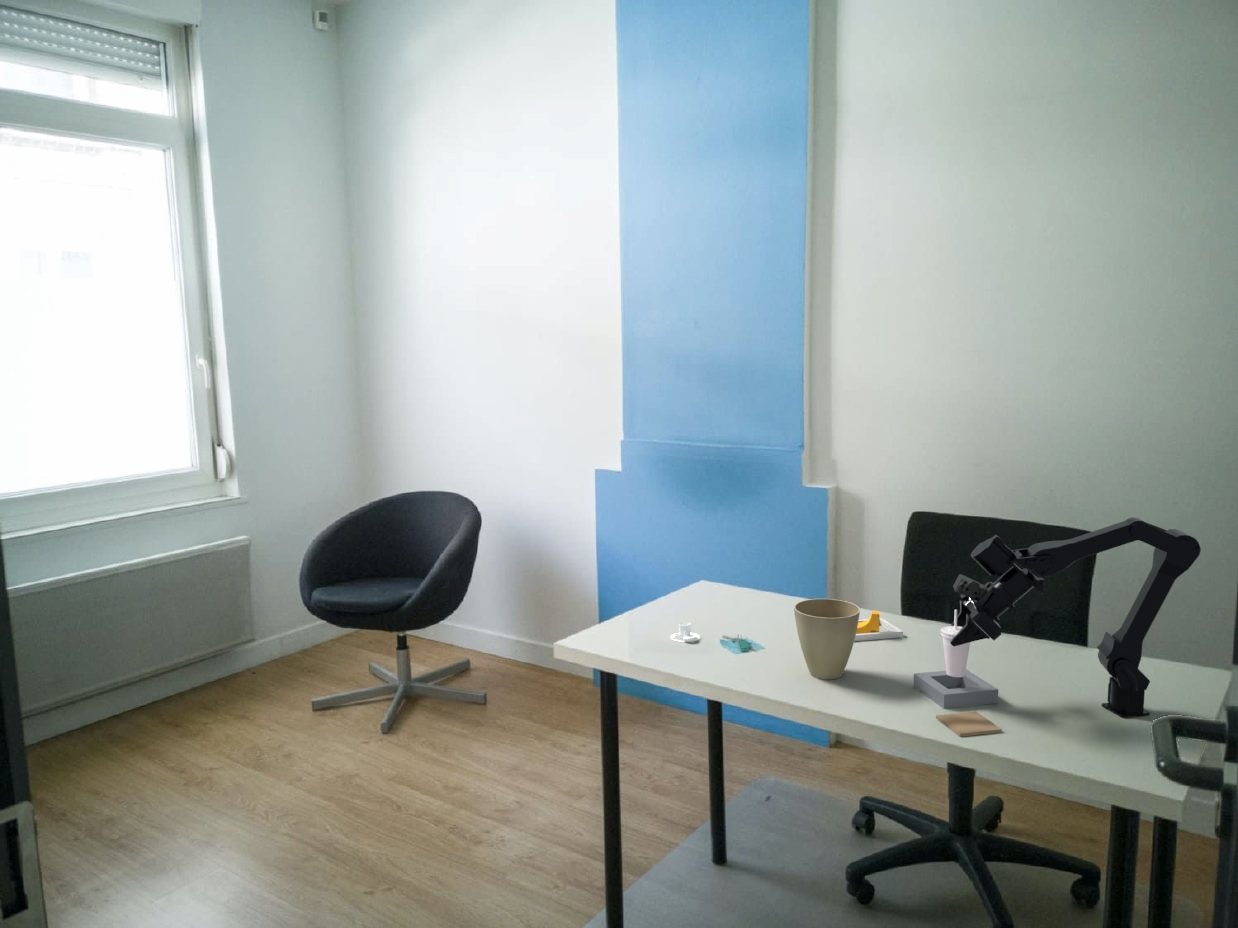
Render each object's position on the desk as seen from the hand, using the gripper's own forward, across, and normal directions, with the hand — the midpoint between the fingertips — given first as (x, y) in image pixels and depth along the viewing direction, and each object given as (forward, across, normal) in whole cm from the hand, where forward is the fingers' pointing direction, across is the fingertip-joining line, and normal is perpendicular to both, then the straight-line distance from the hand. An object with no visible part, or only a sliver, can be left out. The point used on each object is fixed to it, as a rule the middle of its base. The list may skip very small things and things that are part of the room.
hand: (949, 639), depth 195 cm
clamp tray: (+21, -43, -3) cm, 48 cm away
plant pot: (+28, -11, -9) cm, 31 cm away
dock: (+8, -3, +10) cm, 14 cm away
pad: (+8, +13, +11) cm, 19 cm away
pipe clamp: (+22, -42, -4) cm, 48 cm away
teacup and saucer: (+54, -29, -36) cm, 71 cm away
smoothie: (+5, 0, +6) cm, 8 cm away
